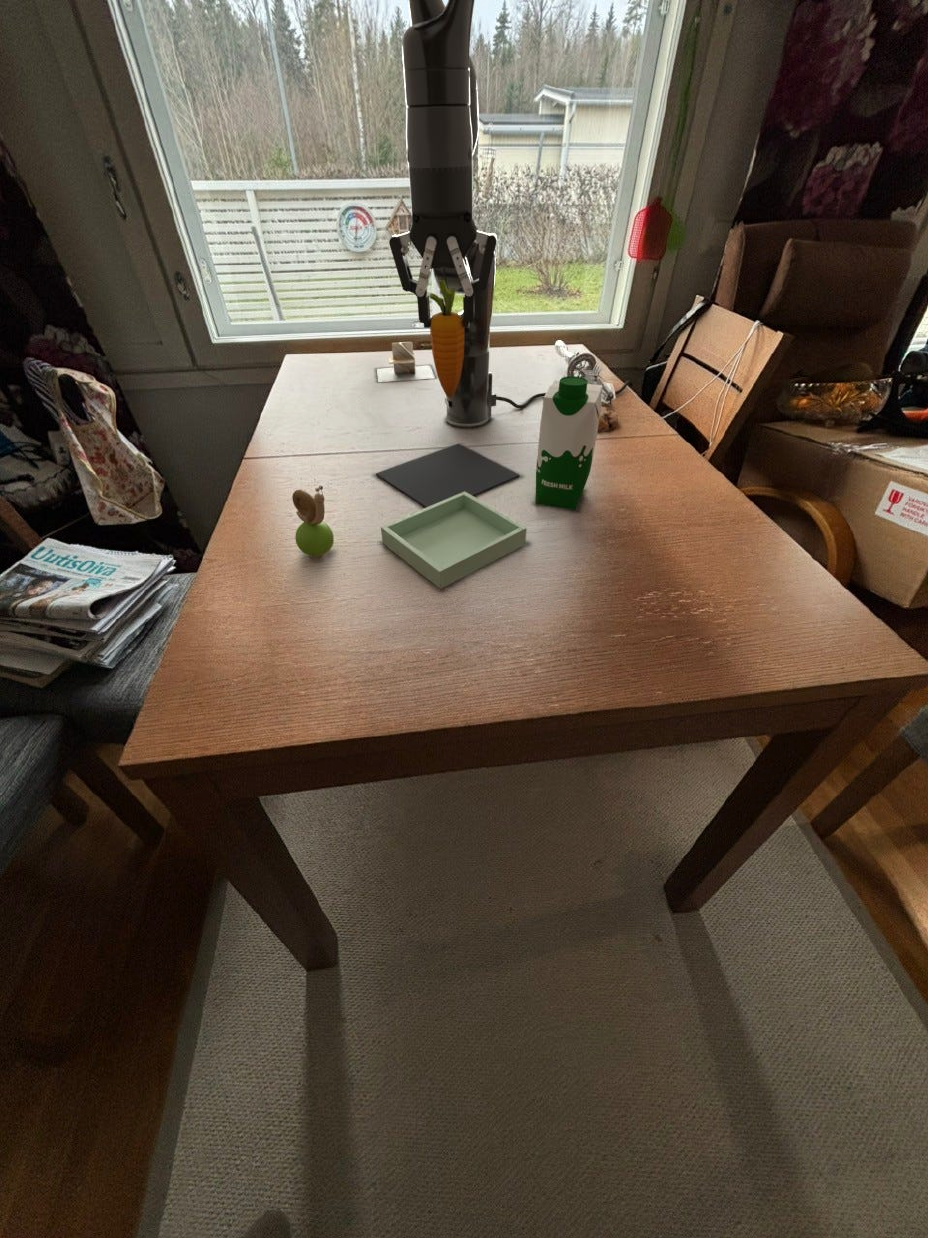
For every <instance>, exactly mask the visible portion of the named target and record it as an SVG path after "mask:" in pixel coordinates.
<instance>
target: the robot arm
mask: <svg viewBox="0 0 928 1238" xmlns="http://www.w3.org/2000/svg"><path fill="white" fill-rule="evenodd" d="M475 1H476V0H447V3H446V5H445V3H444V1H443V0H407V5H408V14H409V22H410V26H409V27H408V28H407V29H406V30H405V32H404V34H403V36H402V41H401V42H402V45H401V48H402V49H401V51H402V52H401V53H402V65H403V67H402V68H403V80H404V94H405V106H406V121H405V123H406V124H405V125H406V127H405V141H406V151H405V152H406V154H405V155H406V162H407V169H408V180H409V181H408V183H409V195H410V206H411V208H410V209H411V223H410V227H409V230H408V232H404V233H401V234H394V235H392V236H391V237H390V239H389V241H388V244H389V247H390V251H391V253H392V258H393V261H394V264H395V267H396V271H397V275H398V279H399V282H400V285H401V288H402V290H403V292H407V293H408V292H410V293H412V294H413V295H415V296H416V300H417V301H416V302H417V313H418V315H417V316H418V321H419V323H420V324H423V328H424V329H430V319H431V305H430V302H431V301H430V297H429V296H430V293H428V286H429V282H430V278H431V274H432V271H433V278H434V281H435V283H436V286H437V288H438V289H439V290H440V291H441V288H440V285H439V282H440V281H444V282H445V284H446V287H447V290H450V287H453V288H454V289H455V295H457V296H458V295H459V296H463V297H462V310H461V311H460V312H457V313H458V314H459V315H460V316H461V318H462V319H463V321H464V358H463V365H462V371H461V377H460V380H459V383H458V386H457V388H456V391H455V393H454V395H453V396H452V397H451V398H448V397H447V396H446V395H445V397H444V404H445V406H446V422H447V423H448V424H449V425H452V426H454V427H460V428H475V427H479V426H482V425H485V424H487V422H488V421H489V420H490V419H492V407H496V406H497V401H500V402H501V401H502V402H505V403H508V404H510V405H511V406H512V407H514V408H515V409H524V408H526V407H527V406H529V404H530V403H531V402H533V400H535V399H537V398H544V396H545V394H546V393H547V392H540V393H537V394H534V395H532V396H531V397H530V398H529V399H527V401H526V402H524V403H522V404H518V403H516V402H515V401H513V399H510V398H508V397H503V396H497V394H496V393H495V392H493V373H492V372H490V341H491V339H490V337H491V334H490V333H491V323H492V320H493V319H492V318H493V312H494V298H495V297H494V296H495V295H494V294H495V281H496V253H495V251H496V245H497V243H498V236H497V233H495V232H490V233H487V232H484V231H480V230H478V229H477V226H476V223H475V221H474V194H473V193H474V192H473V190H474V189H473V188H474V187H473V185H474V183H473V179H474V178H473V177H474V175H473V173H474V172H473V169H474V167H473V156H474V154H475V149H476V147H477V142H478V138H479V132H480V118H479V99H478V98H479V95H478V77H477V72H476V71H477V70H476V68H475V65H474V62H473V60H472V57H471V54H470V53H471V36H472V24H473V14H474V9H475ZM410 242H411V243H412V245H413V246H414V248H415V249H416V251H417V253H418V254H419V255H420V257H421V258H422V260H421V264H420V269H419V274H418V278H417V280H416V279H414V278H413V274H412V271H411V267H410V264H409V260H408V256H407V254H408V253H409V251H410ZM628 385H629V386H630V387H632V386H634V383H633V382H632V380H630V379H629V380H626V381H625V383H624V384H623V385H622V386H621V387H620V388H619V389H618V390H614V391H615V396H617V395H619V394H621V393H622V392H623V391H624V390H625V389H626V388H627V386H628Z"/></svg>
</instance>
